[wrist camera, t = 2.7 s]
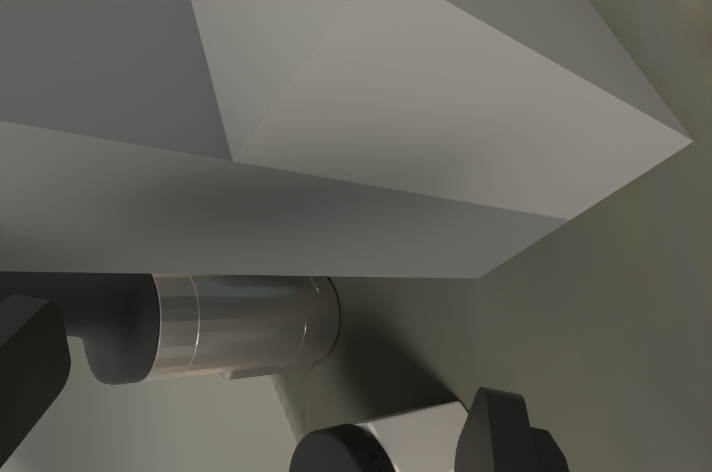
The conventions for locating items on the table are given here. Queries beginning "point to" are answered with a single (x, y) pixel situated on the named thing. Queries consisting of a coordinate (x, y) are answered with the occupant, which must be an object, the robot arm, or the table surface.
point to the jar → (386, 443)
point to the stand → (311, 133)
